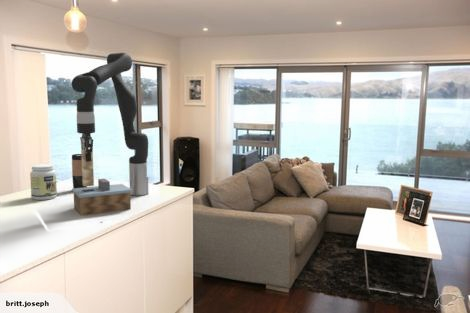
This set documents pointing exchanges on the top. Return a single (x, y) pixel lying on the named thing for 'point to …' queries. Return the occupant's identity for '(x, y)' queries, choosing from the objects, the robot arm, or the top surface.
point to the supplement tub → (43, 182)
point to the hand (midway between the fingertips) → (87, 160)
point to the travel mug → (77, 171)
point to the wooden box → (102, 203)
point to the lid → (101, 189)
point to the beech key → (87, 170)
